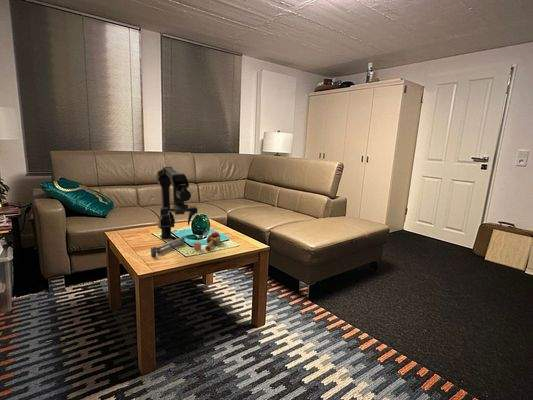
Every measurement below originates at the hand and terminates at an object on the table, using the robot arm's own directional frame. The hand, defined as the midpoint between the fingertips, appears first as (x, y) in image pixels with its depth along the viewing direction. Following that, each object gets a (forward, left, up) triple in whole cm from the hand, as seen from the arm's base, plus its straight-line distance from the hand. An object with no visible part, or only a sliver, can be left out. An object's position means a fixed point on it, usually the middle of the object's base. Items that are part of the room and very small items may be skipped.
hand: (179, 225), depth 156 cm
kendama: (+3, +18, -14) cm, 23 cm away
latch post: (+5, +8, -14) cm, 17 cm away
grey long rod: (-4, -4, -13) cm, 14 cm away
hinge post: (+2, -14, -14) cm, 20 cm away
